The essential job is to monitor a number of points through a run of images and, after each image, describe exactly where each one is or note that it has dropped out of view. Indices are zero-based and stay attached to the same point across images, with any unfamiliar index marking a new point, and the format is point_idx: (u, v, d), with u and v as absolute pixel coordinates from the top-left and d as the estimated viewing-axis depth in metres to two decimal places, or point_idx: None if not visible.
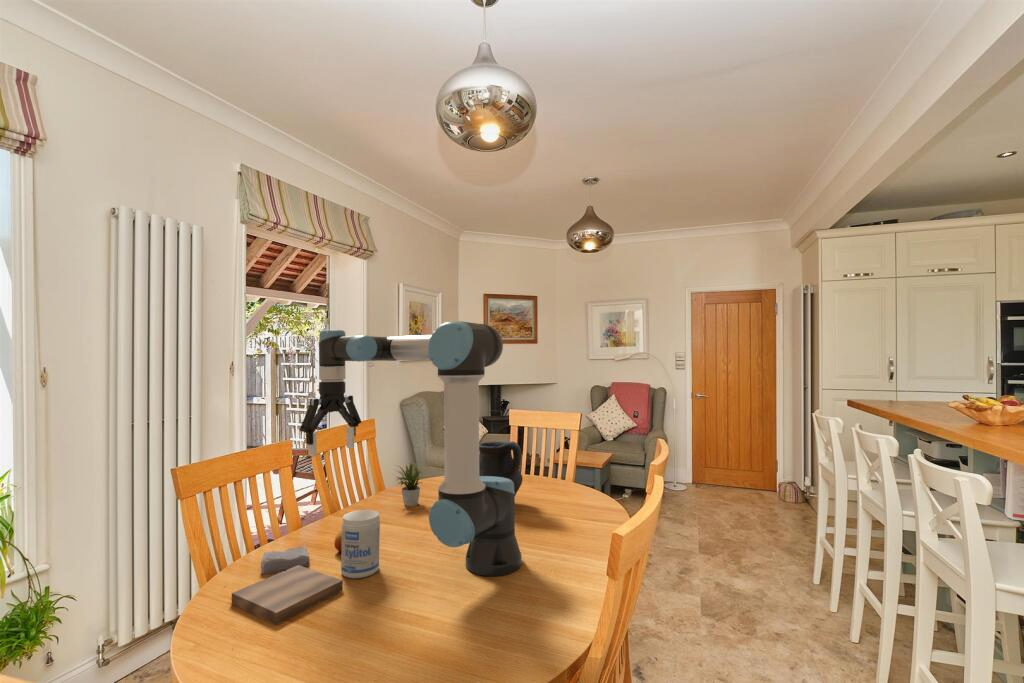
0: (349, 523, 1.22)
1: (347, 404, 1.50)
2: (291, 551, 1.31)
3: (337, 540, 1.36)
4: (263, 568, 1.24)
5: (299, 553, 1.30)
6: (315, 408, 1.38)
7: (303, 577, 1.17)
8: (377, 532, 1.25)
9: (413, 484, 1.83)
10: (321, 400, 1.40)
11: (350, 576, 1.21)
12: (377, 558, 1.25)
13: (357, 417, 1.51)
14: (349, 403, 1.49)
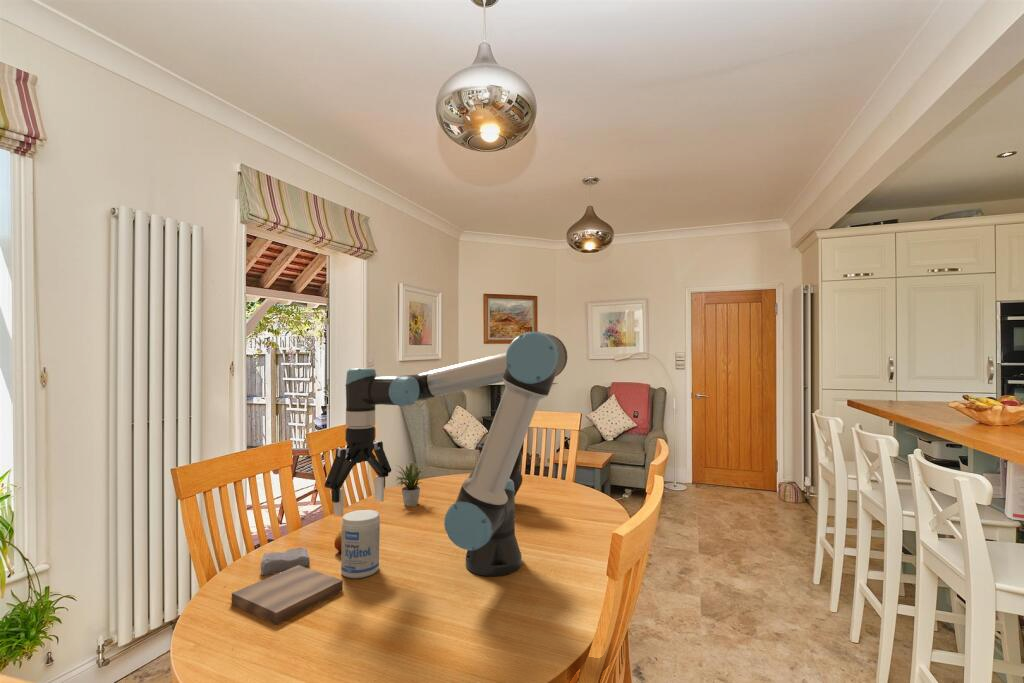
0: (349, 523, 1.22)
1: (376, 451, 1.32)
2: (291, 552, 1.31)
3: (337, 540, 1.36)
4: (263, 569, 1.24)
5: (299, 554, 1.29)
6: (342, 460, 1.20)
7: (303, 577, 1.17)
8: (377, 532, 1.25)
9: (413, 484, 1.83)
10: (348, 450, 1.23)
11: (350, 576, 1.21)
12: (377, 558, 1.25)
13: (387, 465, 1.33)
14: (378, 450, 1.31)
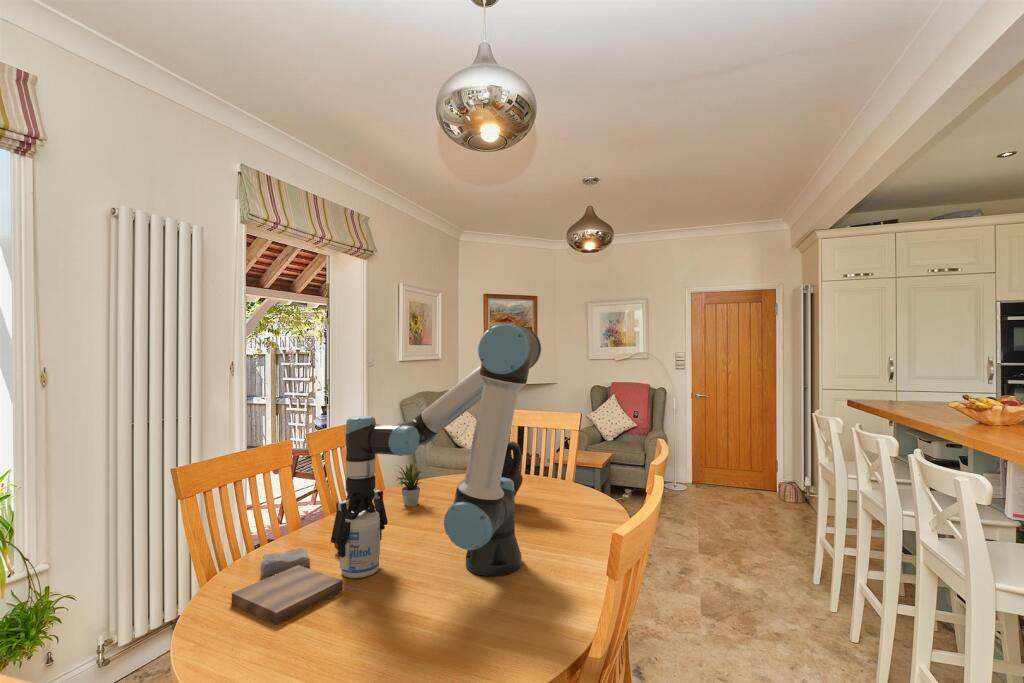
0: None
1: (375, 500, 1.31)
2: (291, 553, 1.30)
3: None
4: (263, 570, 1.23)
5: (299, 555, 1.29)
6: (344, 514, 1.20)
7: (303, 577, 1.17)
8: (377, 532, 1.25)
9: (413, 484, 1.83)
10: (349, 502, 1.22)
11: (350, 576, 1.21)
12: (377, 558, 1.25)
13: (384, 517, 1.31)
14: (378, 500, 1.30)
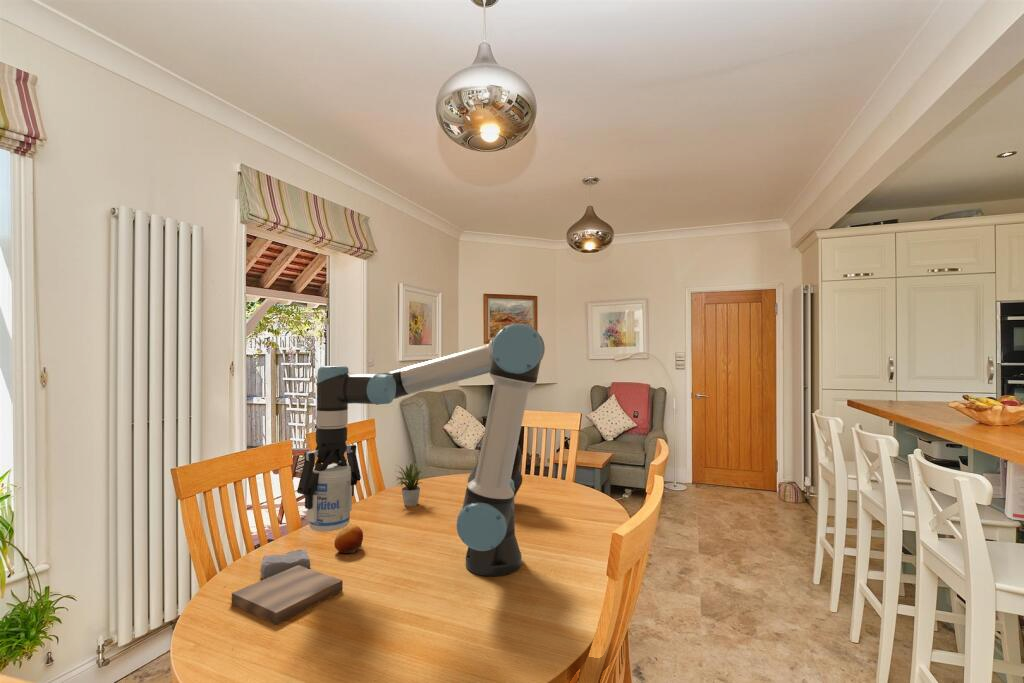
0: None
1: (348, 455, 1.26)
2: (291, 554, 1.29)
3: (337, 540, 1.36)
4: (263, 572, 1.22)
5: (299, 556, 1.28)
6: (311, 464, 1.15)
7: (303, 577, 1.17)
8: (347, 485, 1.20)
9: (413, 484, 1.83)
10: (318, 452, 1.17)
11: (317, 529, 1.16)
12: (347, 512, 1.20)
13: (357, 472, 1.26)
14: (350, 454, 1.25)
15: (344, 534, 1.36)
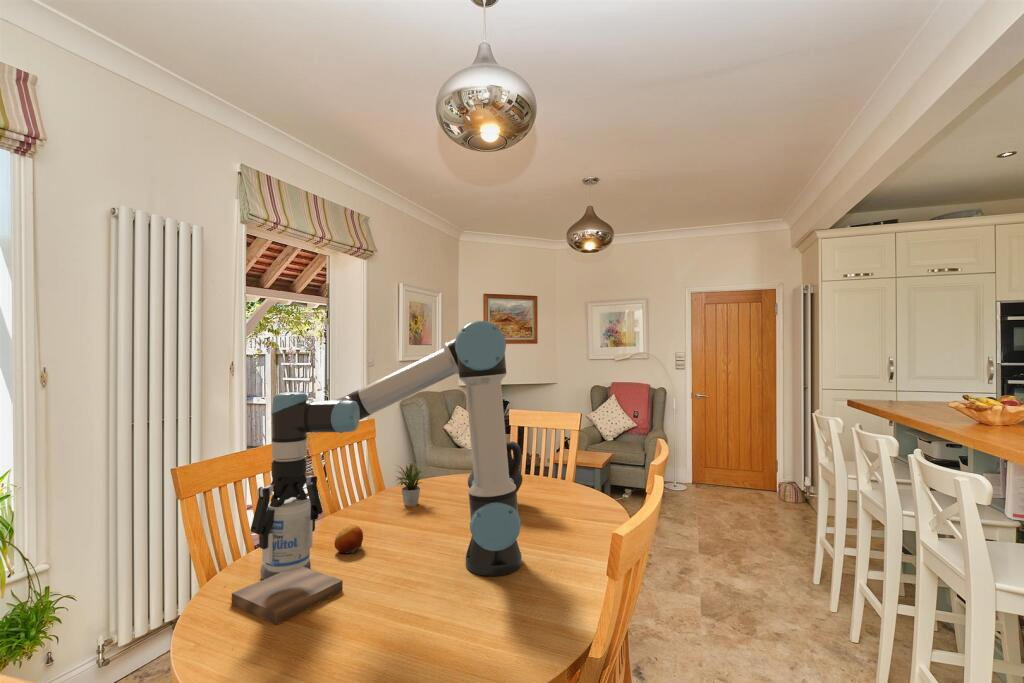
0: None
1: (308, 487, 1.18)
2: None
3: (337, 540, 1.36)
4: (263, 573, 1.21)
5: None
6: (266, 501, 1.07)
7: (303, 577, 1.17)
8: (306, 521, 1.12)
9: (413, 484, 1.83)
10: (273, 487, 1.09)
11: (273, 570, 1.08)
12: (306, 550, 1.12)
13: (318, 505, 1.18)
14: (311, 486, 1.17)
15: (344, 534, 1.36)
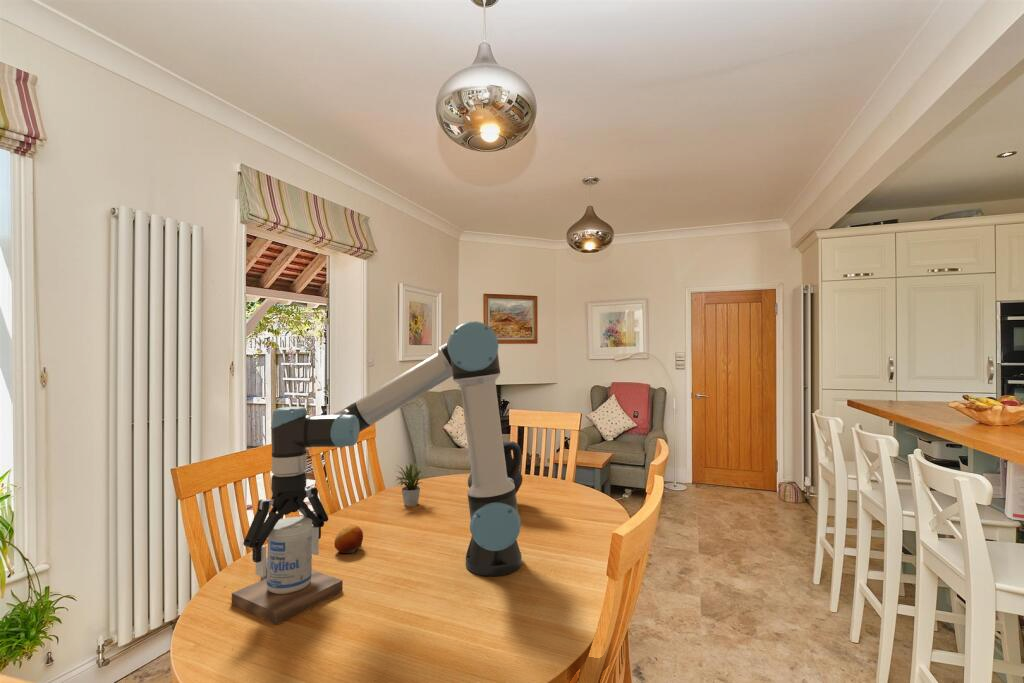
0: (274, 532, 1.09)
1: (310, 498, 1.18)
2: None
3: (337, 540, 1.36)
4: None
5: None
6: (264, 514, 1.06)
7: None
8: (308, 542, 1.12)
9: (413, 484, 1.83)
10: (273, 501, 1.09)
11: (275, 592, 1.08)
12: (308, 571, 1.12)
13: (323, 514, 1.19)
14: (312, 498, 1.18)
15: (344, 534, 1.36)
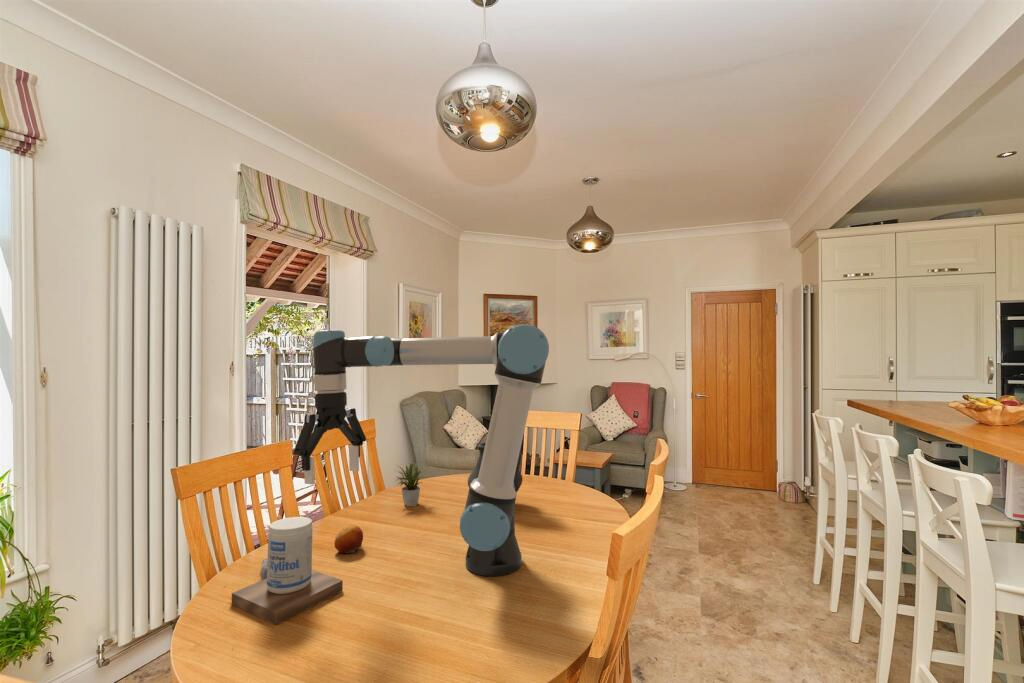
0: (275, 532, 1.09)
1: (349, 419, 1.25)
2: None
3: (337, 540, 1.36)
4: (263, 575, 1.20)
5: None
6: (311, 426, 1.13)
7: None
8: (308, 542, 1.12)
9: (413, 484, 1.83)
10: (318, 416, 1.16)
11: (275, 592, 1.08)
12: (308, 571, 1.12)
13: (361, 434, 1.27)
14: (351, 417, 1.25)
15: (344, 534, 1.36)
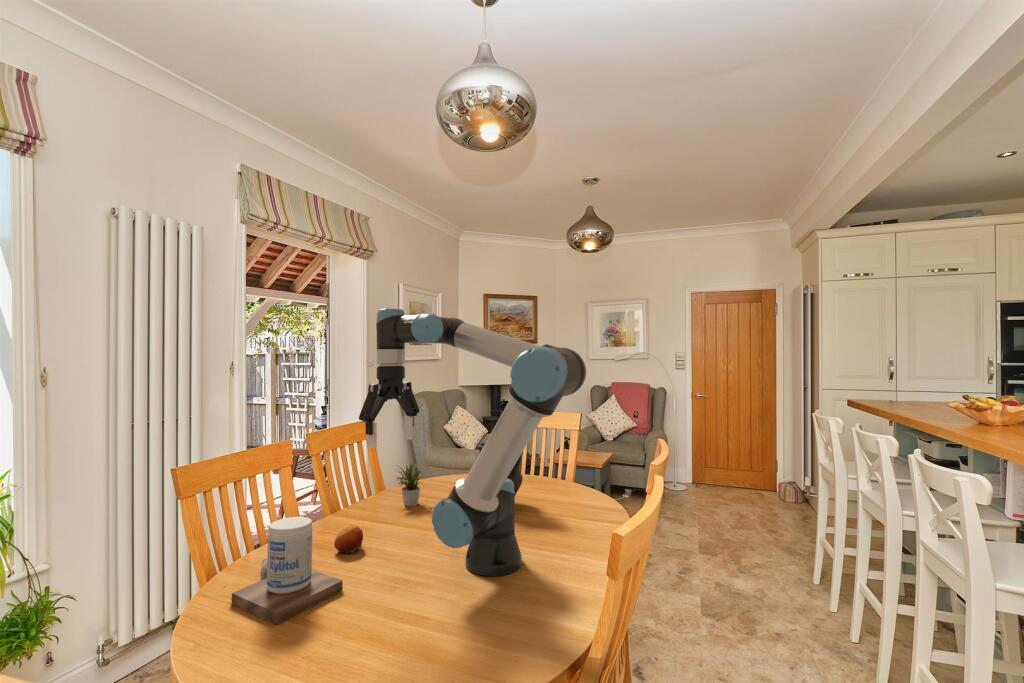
0: (274, 532, 1.09)
1: (405, 391, 1.36)
2: None
3: (337, 540, 1.36)
4: (263, 575, 1.20)
5: None
6: (375, 394, 1.25)
7: None
8: (308, 542, 1.12)
9: (413, 484, 1.83)
10: (380, 386, 1.27)
11: (275, 592, 1.08)
12: (308, 571, 1.12)
13: (415, 406, 1.38)
14: (407, 390, 1.36)
15: (344, 534, 1.36)
